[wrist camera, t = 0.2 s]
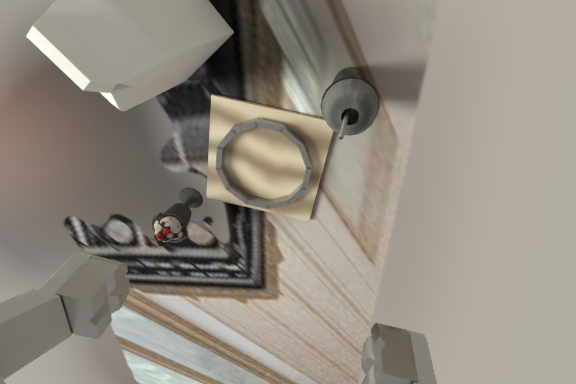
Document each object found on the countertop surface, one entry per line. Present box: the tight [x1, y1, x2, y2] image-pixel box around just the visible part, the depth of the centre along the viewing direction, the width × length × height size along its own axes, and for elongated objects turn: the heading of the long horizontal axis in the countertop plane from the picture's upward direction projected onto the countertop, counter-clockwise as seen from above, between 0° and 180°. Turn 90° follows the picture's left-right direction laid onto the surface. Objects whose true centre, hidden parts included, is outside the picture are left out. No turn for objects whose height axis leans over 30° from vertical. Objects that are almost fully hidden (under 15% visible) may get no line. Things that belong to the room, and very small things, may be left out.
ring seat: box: [207, 94, 333, 221], centre depth 61 cm, size 21×21×3 cm
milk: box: [26, 0, 234, 111], centre depth 40 cm, size 12×12×26 cm
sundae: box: [152, 188, 203, 246], centre depth 62 cm, size 7×7×15 cm
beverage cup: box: [321, 67, 380, 140], centre depth 44 cm, size 7×7×20 cm
